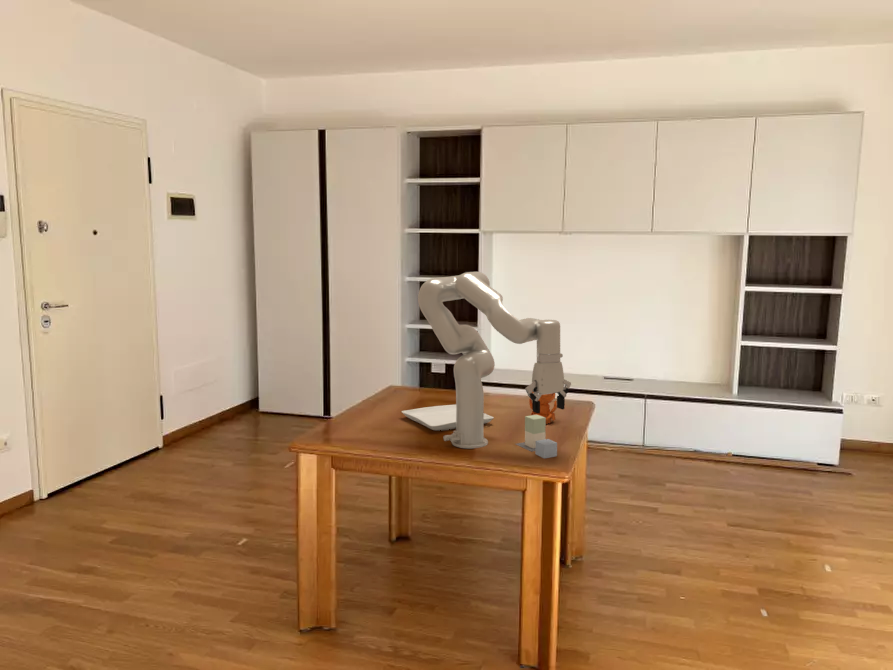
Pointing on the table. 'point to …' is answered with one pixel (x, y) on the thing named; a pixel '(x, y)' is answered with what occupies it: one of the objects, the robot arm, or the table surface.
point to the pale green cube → (535, 424)
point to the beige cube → (533, 438)
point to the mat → (525, 446)
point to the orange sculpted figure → (545, 407)
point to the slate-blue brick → (546, 448)
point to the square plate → (437, 417)
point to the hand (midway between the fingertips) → (548, 410)
